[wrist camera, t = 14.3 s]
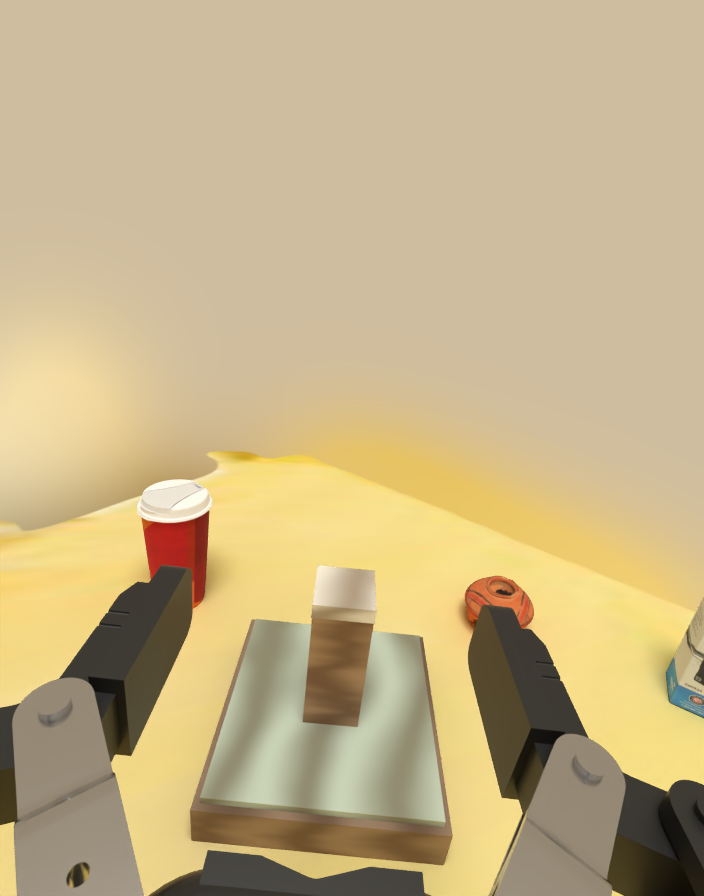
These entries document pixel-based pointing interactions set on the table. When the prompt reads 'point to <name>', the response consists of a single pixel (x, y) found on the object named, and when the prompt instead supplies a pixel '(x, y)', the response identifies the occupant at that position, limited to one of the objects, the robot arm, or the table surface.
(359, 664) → the block
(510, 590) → the pot
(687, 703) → the ink box
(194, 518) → the paper cup
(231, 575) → the table surface
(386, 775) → the block
